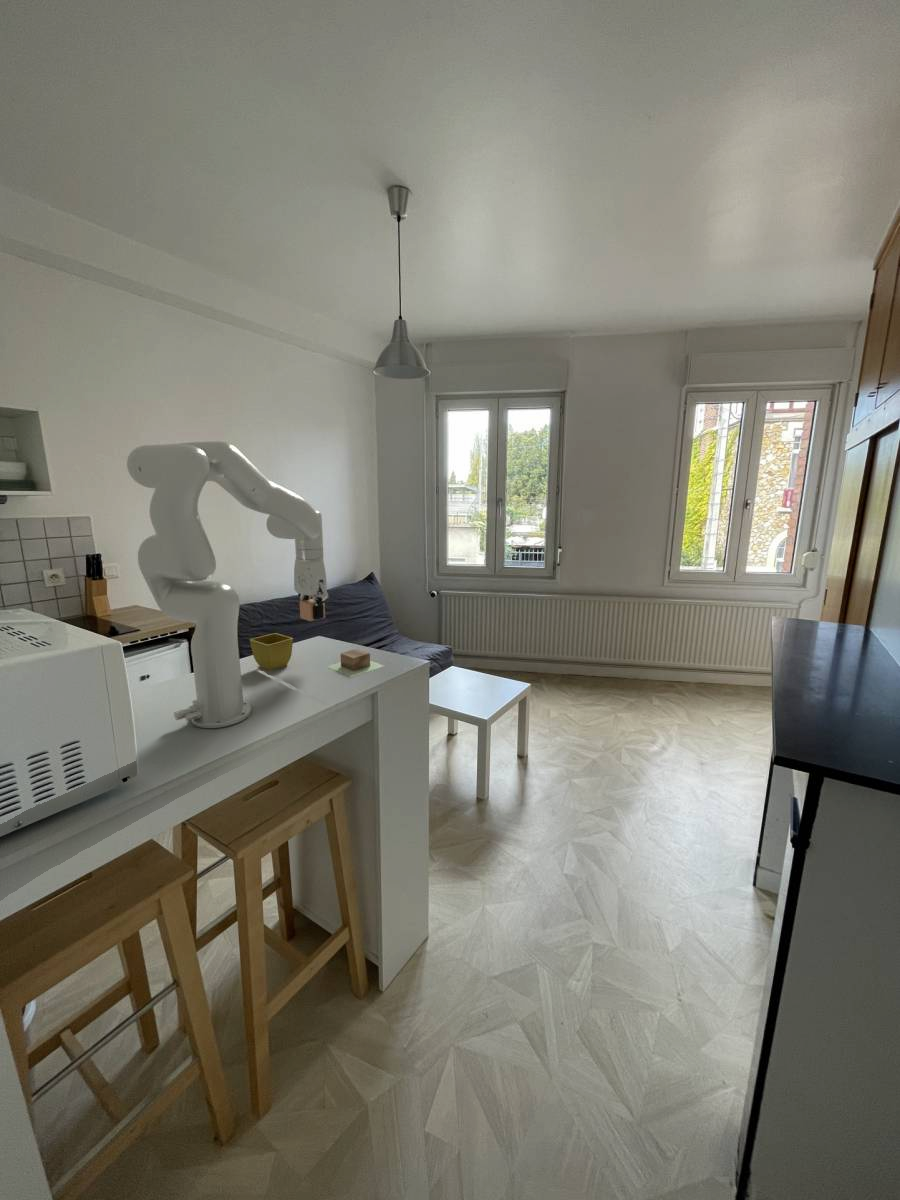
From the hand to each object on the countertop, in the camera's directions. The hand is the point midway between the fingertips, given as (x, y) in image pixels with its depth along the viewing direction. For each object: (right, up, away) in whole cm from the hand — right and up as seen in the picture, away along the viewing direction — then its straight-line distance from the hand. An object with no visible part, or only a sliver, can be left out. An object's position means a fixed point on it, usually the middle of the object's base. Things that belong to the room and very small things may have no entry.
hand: (312, 616), depth 142 cm
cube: (0, 0, 0) cm, 1 cm away
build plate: (+12, -15, +2) cm, 20 cm away
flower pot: (-12, -15, +2) cm, 20 cm away
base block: (+12, -15, +1) cm, 19 cm away
